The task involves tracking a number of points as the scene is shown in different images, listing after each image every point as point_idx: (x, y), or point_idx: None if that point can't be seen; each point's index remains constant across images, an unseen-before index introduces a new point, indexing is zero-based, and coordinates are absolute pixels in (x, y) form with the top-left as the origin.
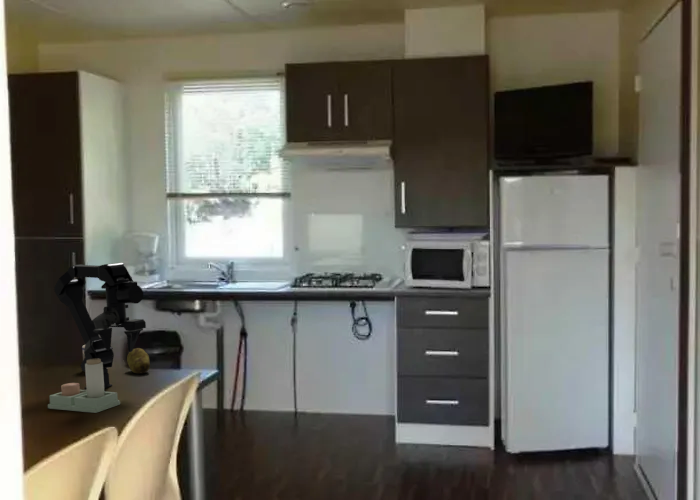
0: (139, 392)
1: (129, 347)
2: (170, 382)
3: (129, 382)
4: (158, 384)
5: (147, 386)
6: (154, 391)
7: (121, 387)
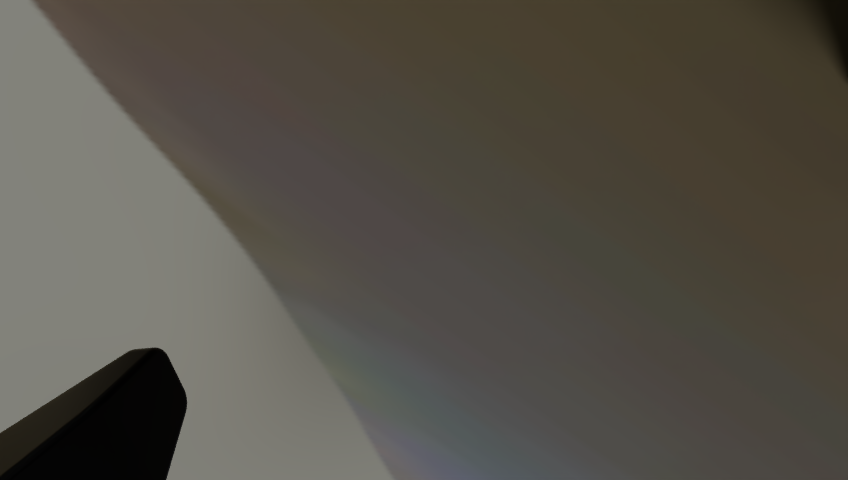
0: (301, 91)
1: (46, 408)
2: (389, 440)
3: (794, 342)
4: (424, 369)
5: (455, 289)
6: (206, 180)
7: (704, 167)
